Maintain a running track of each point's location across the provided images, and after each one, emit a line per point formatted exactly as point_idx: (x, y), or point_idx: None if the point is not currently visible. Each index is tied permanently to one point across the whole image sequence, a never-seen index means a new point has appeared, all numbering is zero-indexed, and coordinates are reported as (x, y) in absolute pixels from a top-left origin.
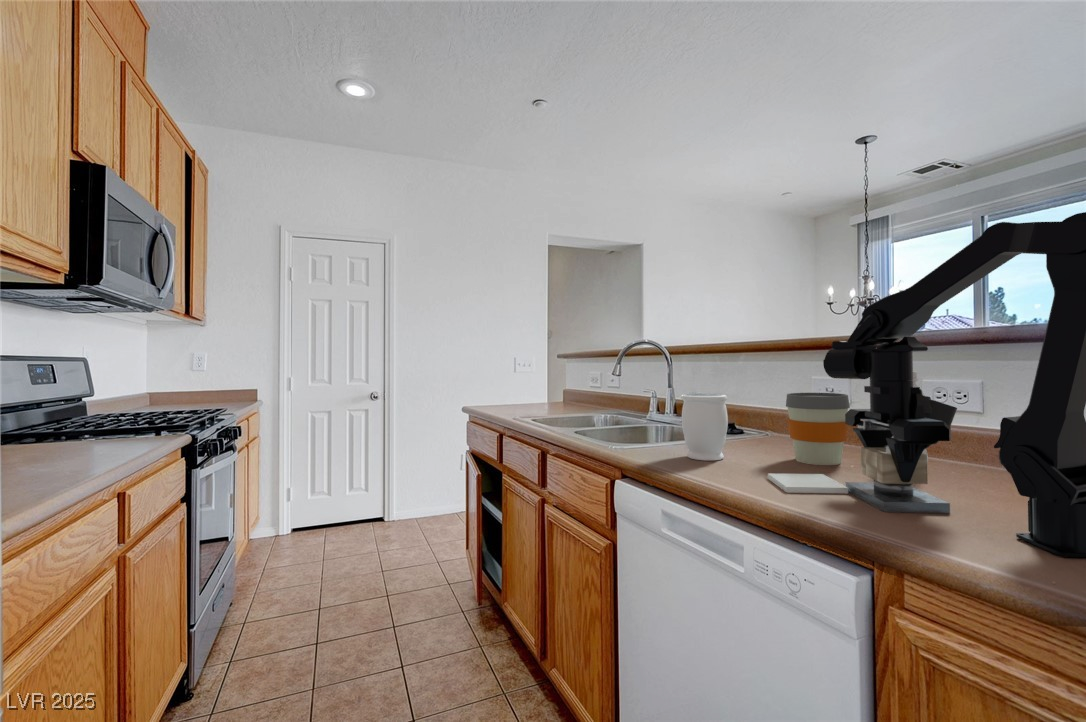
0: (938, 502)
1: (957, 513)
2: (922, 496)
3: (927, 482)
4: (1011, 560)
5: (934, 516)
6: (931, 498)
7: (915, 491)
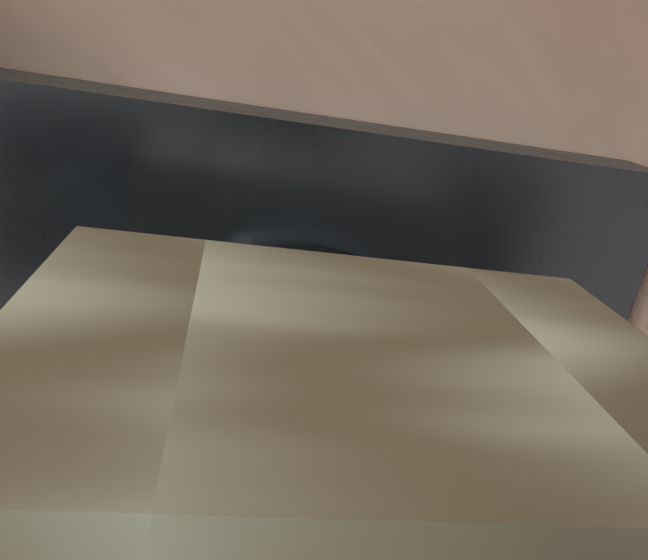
0: (637, 250)
1: (640, 103)
2: (469, 252)
3: (577, 285)
4: None
5: (642, 309)
6: (535, 222)
7: (306, 192)
